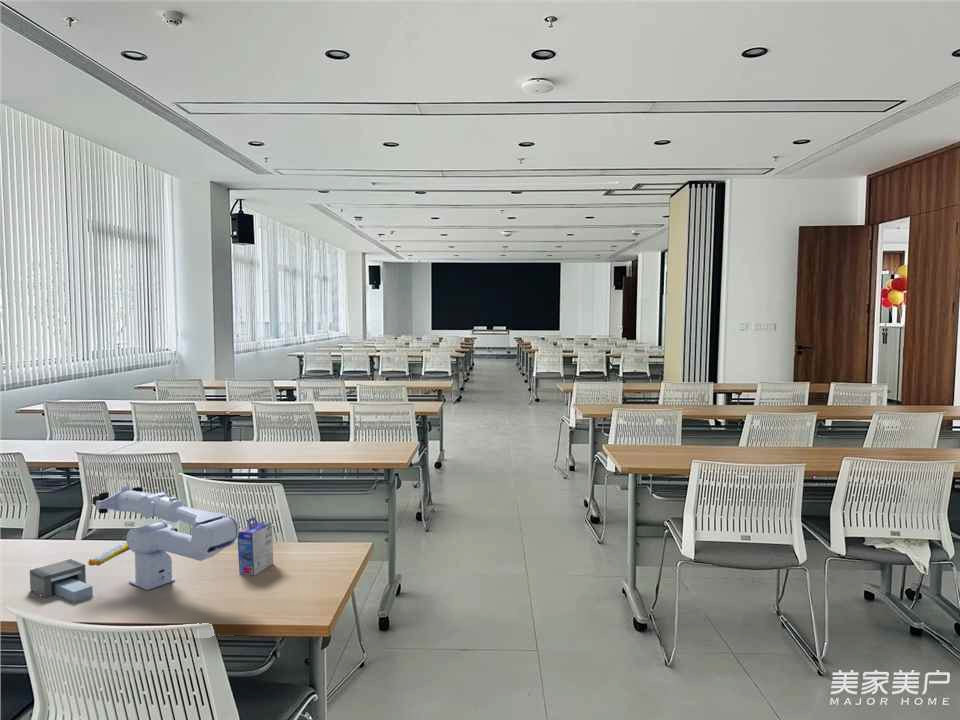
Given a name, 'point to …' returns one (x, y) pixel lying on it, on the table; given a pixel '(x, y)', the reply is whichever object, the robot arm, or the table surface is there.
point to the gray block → (55, 575)
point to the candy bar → (109, 554)
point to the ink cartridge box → (255, 547)
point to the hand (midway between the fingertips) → (107, 497)
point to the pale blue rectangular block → (72, 589)
